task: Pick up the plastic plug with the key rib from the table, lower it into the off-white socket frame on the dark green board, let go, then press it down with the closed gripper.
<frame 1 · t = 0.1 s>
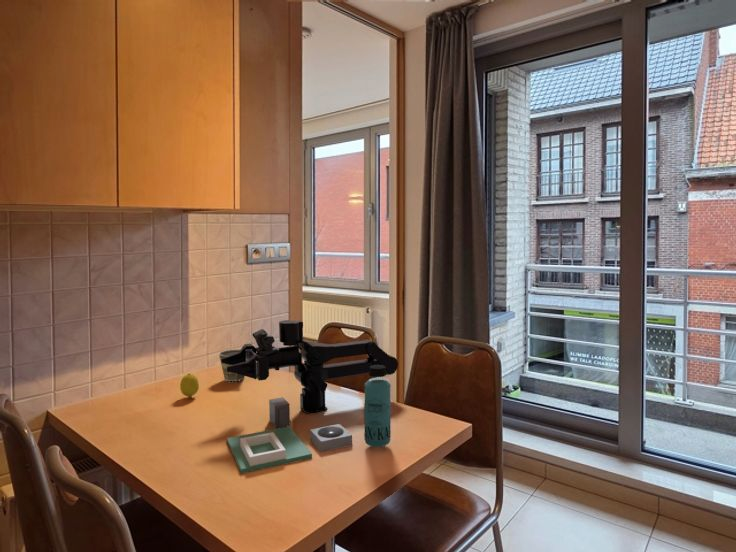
hand: (223, 364, 128), 17 cm above the table, tool horizontal, fingers open, 9 cm apart
lemon: (190, 398, 151), on the table
grey square block: (330, 442, 117), on the table
board: (267, 449, 113), on the table
beverage bottle: (377, 448, 114), on the table
ceramic cup: (236, 381, 169), on the table
plug: (279, 423, 129), on the table
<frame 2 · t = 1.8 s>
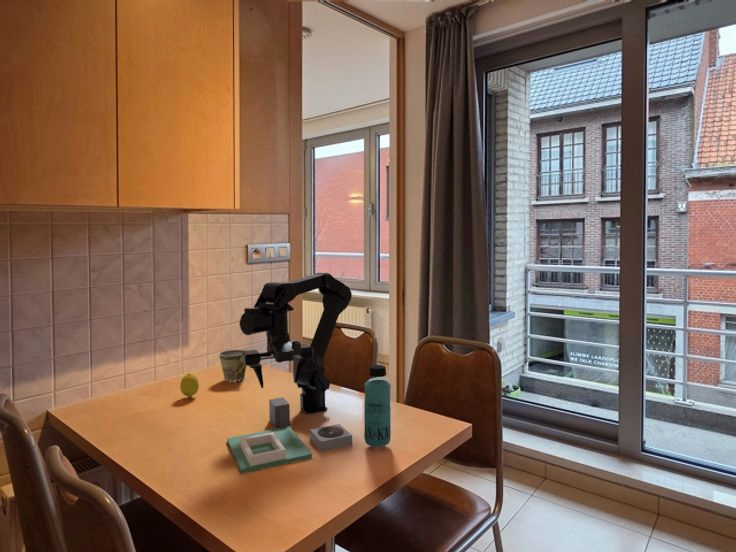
hand: (278, 385, 129), 11 cm above the table, tool pointing down, fingers open, 9 cm apart
nothing on the table moved.
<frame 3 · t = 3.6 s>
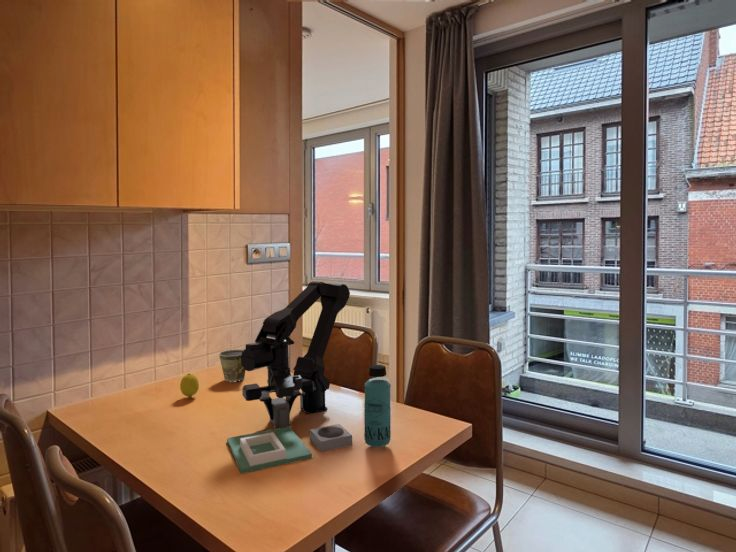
hand: (279, 418, 129), 1 cm above the table, tool pointing down, fingers closed on plug, 4 cm apart
plug: (279, 422, 129), on the table, touching gripper
everything else where it was.
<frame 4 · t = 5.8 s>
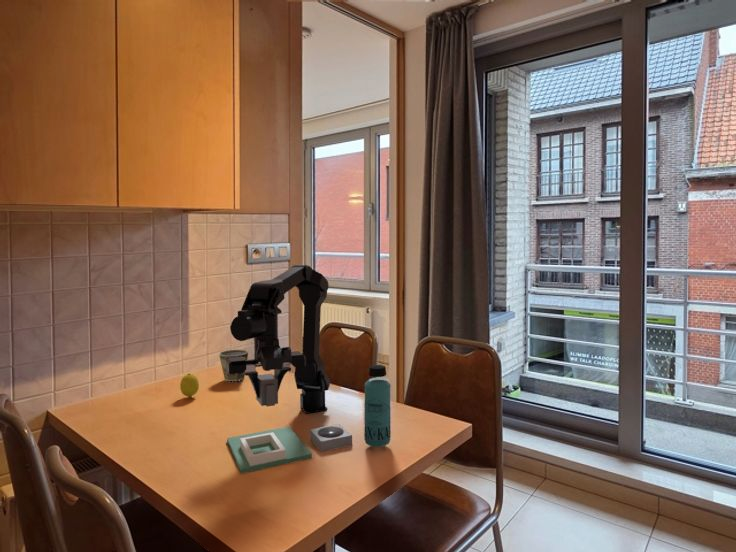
hand: (266, 396, 116), 12 cm above the table, tool pointing down, fingers closed on plug, 4 cm apart
plug: (266, 401, 116), point 10 cm above the table, touching gripper
everything else where it was.
when the fingers open (5 cm above the table, at t = 8.1 s): plug drops 3 cm, resting on board.
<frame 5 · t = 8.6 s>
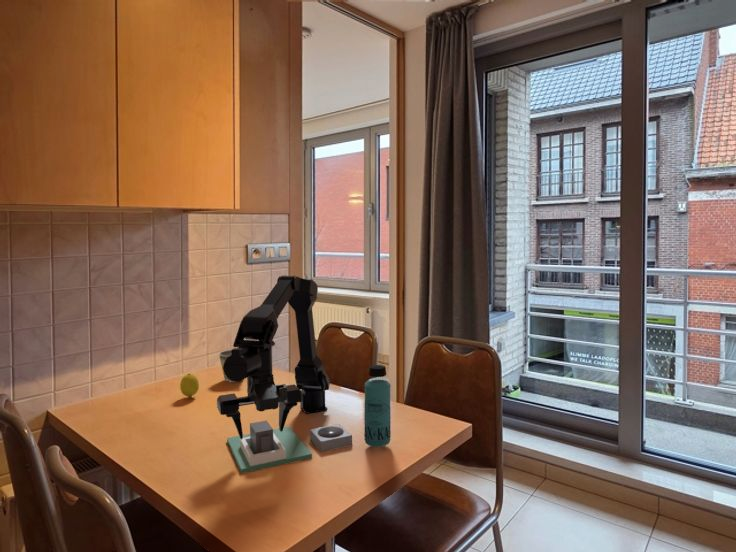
hand: (261, 434, 109), 5 cm above the table, tool pointing down, fingers open, 9 cm apart
plug: (262, 451, 110), point 1 cm above the table, touching board
everything else where it was.
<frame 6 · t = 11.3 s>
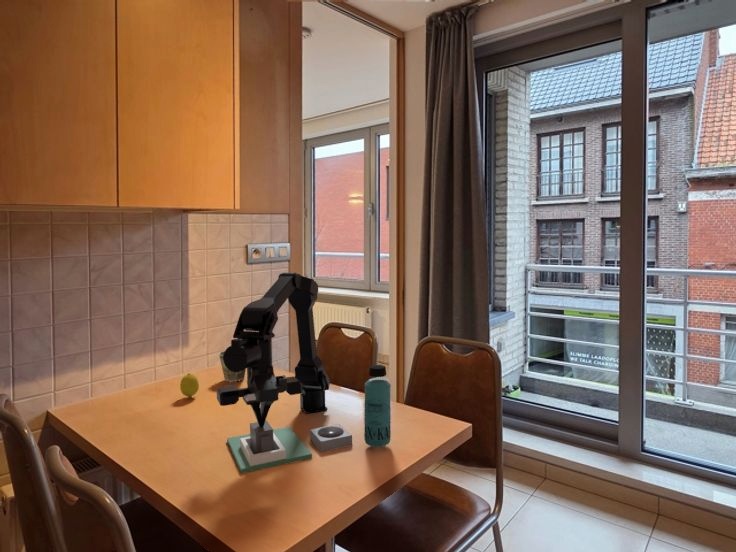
hand: (261, 426, 109), 7 cm above the table, tool pointing down, fingers closed, pressing on plug
plug: (262, 451, 110), point 1 cm above the table, touching board, gripper
everything else where it was.
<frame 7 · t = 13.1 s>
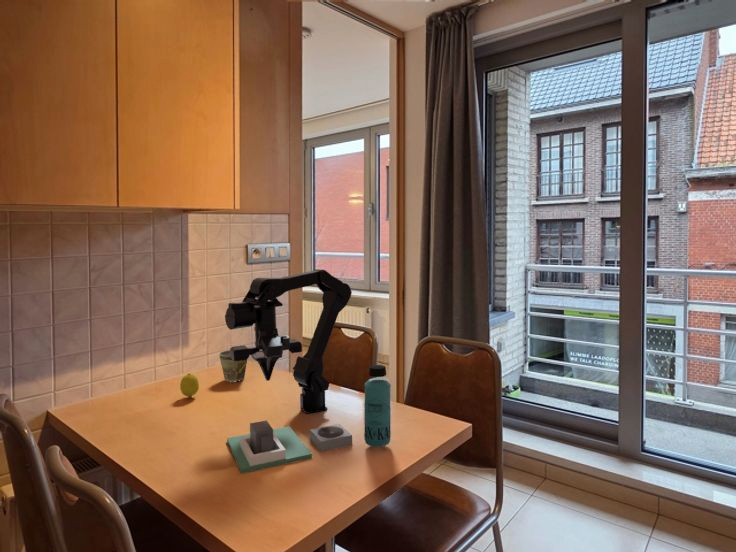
hand: (267, 380, 129), 12 cm above the table, tool pointing down, fingers closed
plug: (262, 451, 110), point 1 cm above the table, touching board
everything else where it was.
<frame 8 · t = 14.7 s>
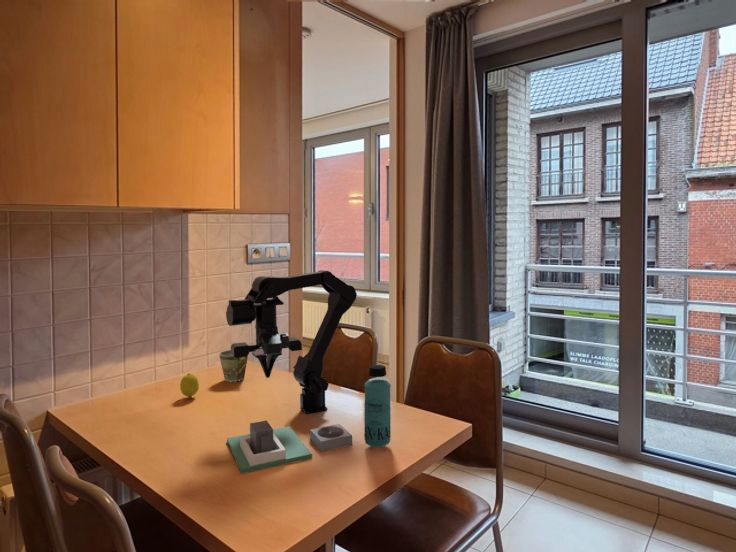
hand: (267, 377, 131), 12 cm above the table, tool pointing down, fingers closed
nothing on the table moved.
at the end: plug 0.1 cm from the target spot on the board, point 1.0 cm above the board's base; plug tilted 0°; the gripper is holding nothing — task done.
